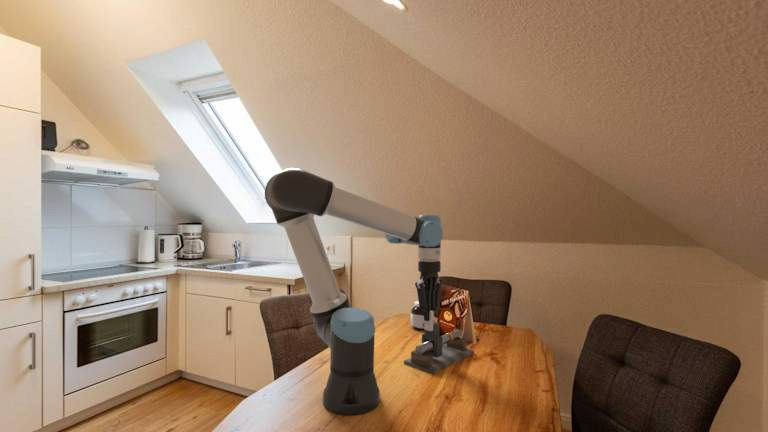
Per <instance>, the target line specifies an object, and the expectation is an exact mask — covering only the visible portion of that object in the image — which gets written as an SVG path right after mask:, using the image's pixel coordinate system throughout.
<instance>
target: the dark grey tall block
mask: <svg viewBox="0 0 768 432" xmlns="http://www.w3.org/2000/svg"><path fill="white" fill-rule="evenodd" d="M440 325H441V324H440V322H437V321H435V320H434V321H433V331H428V330H424V333H422V334H421V344H423V343H425V342H428V341H430V340H431V341H434V349H433V350H431V351H428V352H426V353H427V354H430V355H433V357H436V358H438V357H440V356H442V336H443V335H440Z"/></svg>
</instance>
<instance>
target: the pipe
mask: <svg viewBox="0 0 768 432" xmlns="http://www.w3.org/2000/svg"><path fill="white" fill-rule="evenodd" d="M441 336H442V345H444V344H447V343H450V342H452V341H454V340H456V339H458V338H462V337H463V332H462V330H460V329H456V330H453V331H451V332H447V333H445V334H443V335H441ZM433 349H434V341H431V340H430V341H428V342H425V343H423V344H422V343H421V344H417V345H416V346H415V350H416V352H417V354H419V355H421V354H424V353H426V352H428V351H431V350H433Z"/></svg>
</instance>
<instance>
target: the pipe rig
mask: <svg viewBox="0 0 768 432" xmlns="http://www.w3.org/2000/svg"><path fill="white" fill-rule="evenodd" d="M467 342H468V341H467V339H464V338H462V337H460V338H458V339H456V340H454V341H452V342H450V343H447V344H444V345H442V356H440V357H438V358H436V357H433V355H430V354H427V353H424V354H421V355H419V354H417V352H416V349H415V350H412V351H411V352H410V357H409V358H407V359H405V360H403V365H406V366H409V367H412V368H414V369H418V370H419V371H423V372H425V373H429V374H431V375H435V374H437V373H439V372H440V371H442V370H444V369H446V368H448V367H450V366H451V365H454V364H456V363H458V362H460V361H462V360H463V359H465V358H467V357H469V356H471V355H473V354H474V352H475V351H474V350H473V349H469V348H468V347H467V346H468V345H467Z"/></svg>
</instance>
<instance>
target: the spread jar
mask: <svg viewBox="0 0 768 432" xmlns="http://www.w3.org/2000/svg"><path fill="white" fill-rule="evenodd" d="M413 305H414V306H412V308H411V310H410V325H411V326H412V327H411V328H413V329H414V330H417V331H422V330H423V331H425V330H424V311H423V310H421V309H420V307H419V300H417V301H414V303H413ZM435 319H436V318H435V316H434V319H433V321H434V322H435Z"/></svg>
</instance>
